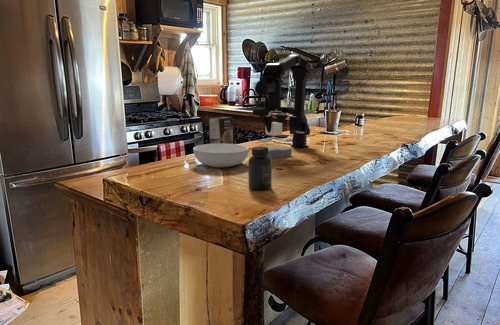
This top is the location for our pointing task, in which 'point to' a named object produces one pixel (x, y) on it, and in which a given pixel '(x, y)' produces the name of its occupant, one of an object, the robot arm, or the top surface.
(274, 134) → the cream cube
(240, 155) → the serving bowl
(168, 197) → the top surface
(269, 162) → the supplement bottle
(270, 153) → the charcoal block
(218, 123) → the coffee box
